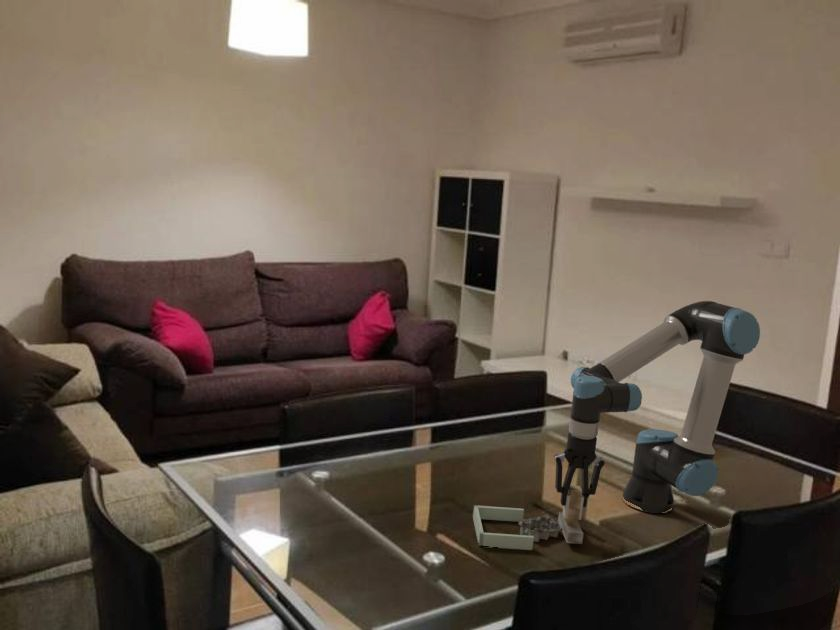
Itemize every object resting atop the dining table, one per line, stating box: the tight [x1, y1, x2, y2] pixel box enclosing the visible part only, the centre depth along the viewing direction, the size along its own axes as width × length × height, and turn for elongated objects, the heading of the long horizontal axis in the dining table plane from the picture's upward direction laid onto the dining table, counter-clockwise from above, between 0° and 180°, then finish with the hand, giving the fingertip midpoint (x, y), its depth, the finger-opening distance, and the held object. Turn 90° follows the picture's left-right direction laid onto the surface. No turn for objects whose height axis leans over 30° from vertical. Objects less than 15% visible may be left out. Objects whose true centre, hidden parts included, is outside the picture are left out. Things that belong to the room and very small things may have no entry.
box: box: [472, 505, 534, 551], centre depth 210 cm, size 14×17×4 cm
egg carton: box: [517, 513, 562, 543], centre depth 212 cm, size 11×8×4 cm
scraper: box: [557, 485, 584, 545], centre depth 210 cm, size 4×12×13 cm, turn 2°
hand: (571, 516), depth 210 cm, fingers closed on scraper, 3 cm apart
